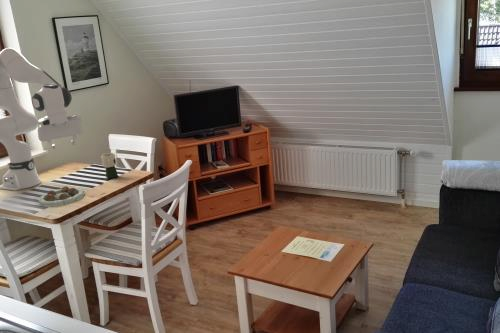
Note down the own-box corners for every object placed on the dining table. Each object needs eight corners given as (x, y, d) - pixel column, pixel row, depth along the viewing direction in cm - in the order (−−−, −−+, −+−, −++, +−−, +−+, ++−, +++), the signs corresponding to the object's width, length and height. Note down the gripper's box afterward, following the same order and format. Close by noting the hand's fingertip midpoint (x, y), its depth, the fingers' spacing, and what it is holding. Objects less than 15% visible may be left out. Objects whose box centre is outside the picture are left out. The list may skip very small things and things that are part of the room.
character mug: (119, 179, 278) (114, 155, 274) (105, 181, 276) (101, 158, 273) (118, 173, 288) (114, 151, 284) (105, 176, 286) (101, 153, 283)
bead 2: (71, 197, 254) (67, 190, 252) (69, 196, 257) (65, 189, 256) (78, 194, 255) (75, 187, 254) (76, 192, 259) (73, 185, 257)
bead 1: (68, 193, 257) (67, 185, 257) (60, 194, 257) (59, 186, 257) (71, 193, 261) (70, 185, 261) (63, 194, 261) (62, 186, 261)
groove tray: (30, 207, 248) (28, 202, 247) (59, 191, 267) (58, 187, 266) (65, 208, 241) (64, 203, 240) (93, 192, 260) (92, 187, 259)
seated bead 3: (58, 202, 248) (56, 194, 247) (63, 199, 251) (62, 191, 250) (65, 202, 246) (63, 195, 245) (70, 199, 250) (68, 192, 249)
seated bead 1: (46, 199, 255) (44, 191, 253) (51, 196, 258) (50, 188, 257) (53, 199, 253) (51, 191, 252) (58, 196, 257) (56, 189, 256)
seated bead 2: (45, 203, 248) (43, 195, 247) (50, 200, 252) (48, 192, 251) (51, 203, 247) (49, 195, 246) (57, 200, 251) (55, 193, 249)
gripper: (78, 113, 253) (83, 141, 257) (34, 121, 243) (40, 149, 247) (81, 115, 247) (86, 143, 251) (36, 123, 238) (42, 152, 242)
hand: (63, 146), depth 249 cm, fingers open, 8 cm apart
